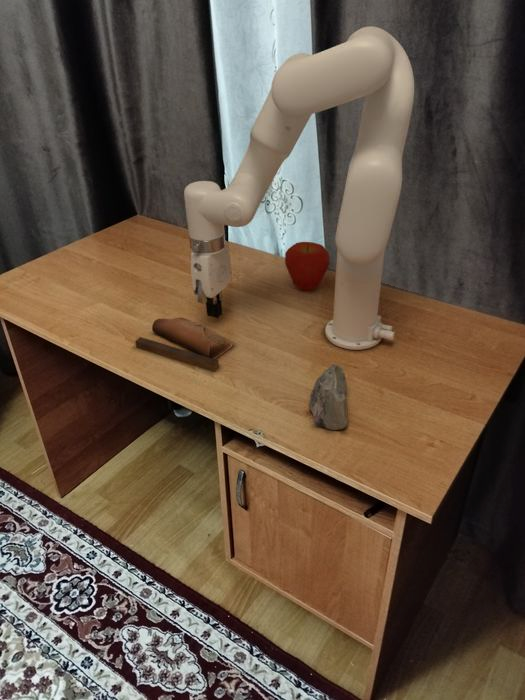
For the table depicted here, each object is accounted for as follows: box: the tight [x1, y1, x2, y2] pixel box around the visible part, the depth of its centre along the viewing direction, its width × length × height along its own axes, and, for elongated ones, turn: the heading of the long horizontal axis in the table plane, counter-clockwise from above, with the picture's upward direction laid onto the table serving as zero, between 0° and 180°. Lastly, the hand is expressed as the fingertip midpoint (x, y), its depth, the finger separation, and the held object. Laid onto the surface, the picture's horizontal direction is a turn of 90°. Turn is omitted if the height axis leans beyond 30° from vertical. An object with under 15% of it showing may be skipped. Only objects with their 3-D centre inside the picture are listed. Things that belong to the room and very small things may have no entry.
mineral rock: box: [308, 364, 349, 431], centre depth 106 cm, size 13×11×10 cm
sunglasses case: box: [151, 317, 234, 360], centre depth 127 cm, size 18×7×7 cm, turn 52°
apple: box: [284, 241, 330, 291], centre depth 143 cm, size 11×11×12 cm
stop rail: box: [134, 336, 220, 373], centre depth 122 cm, size 20×2×2 cm, turn 63°
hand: (214, 315), depth 132 cm, fingers closed
